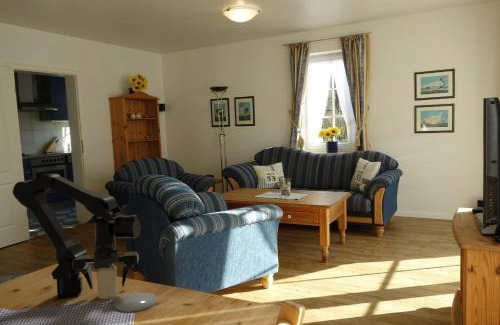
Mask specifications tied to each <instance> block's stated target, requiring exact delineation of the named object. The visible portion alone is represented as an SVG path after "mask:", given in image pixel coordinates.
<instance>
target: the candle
mask: <svg viewBox="0 0 500 325" xmlns="http://www.w3.org/2000/svg"><path fill="white" fill-rule="evenodd" d="M96 273H97V275H96V276H97V294H98V295H97V296H98V297H97V298H99V299H100V300H109V299H113V298H116V297H117V295H118V282H117V280H118V278H117V277H118V275H117V266H116V265H114V263H112V266H111V267H110V268H99V269H96Z"/></svg>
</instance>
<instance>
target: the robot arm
mask: <svg viewBox="0 0 500 325" xmlns="http://www.w3.org/2000/svg"><path fill="white" fill-rule="evenodd" d="M50 189H51V190H53V191H55V192H57V193H60V194H61V195H64V196H65V197H67V198H69V199H71V200H74V201H75V202H77V203H79V204H81V205H83V207H84V208H85V210H87V212H89V213H91V214H92V217H91V218H90V219H89V220H88V221H87V224H89V225H90V224H91V225H92V224H94V234H95V236H94V237H95V239H94V240H95V249H94V253H93V257H90V255H89V254H87V253H88V250H86V249H85V247H84V246H83V243H82V242H81V241H78V242H74V241H72V240H71V239H70V237H69V236H68V233H67V232H66V231H65V229H64V228H63V226H62V224H61V223H60V221H59V220H58V217H57V216H56V215H55V214H54V211H53V210H52V209H51V207H50V206H49V204H48V202H47V192H46V191H48V190H50ZM12 194H13V196H14V198H15V199H16V200H17V202H18V203H19V204H20V205H22V206H23V207H25V208H27V209H28V210H30V211H31V213H32V214H33V217H35V219H36V220H37V222H38V224H39V226H40V227H41V229H42V230H43V232H44V234H45V235H46V237H47V238H48V240H49V241H50V243H51V245H52V246H53V247H54V249H55V260H56V263H57V264H58V265H57V266H56V268H54V270H52V272H50V274H51V276H52V279H53V280H56V296H55V299H56V300H58V299H69V298H71V299H72V298H78V297H79V296H80V295H81V294H82V291H83V290H84V289H83V284H84V283H83V277H84V278H85V280H86V283H87V284H88V287H89V289H90V290H93V289H94V288H93V287H94V286H93V285H94V282H93V273H92V265H93V269H95V270H97V269H99V268H110V267H111V266H112V264H115V263H123V266H122V279H121V286H122V288H123V287H125V284H126V280H127V275H128V273H129V271H130V269H131V268H134V266H137V265H138V264H139V260H140V257H139V253H138V251H135V250H134V251H126V252H124V255H120V254H119V250H118V249H116V247H117V246H116V238H118V239H137V238H139V236H140V233H141V230H142V229H141V228H142V226H141V224H140V220H139V219H138V215H136V214H132V215H125V213H124V212H123V210H122V209H121V208H120V207H119V205H118V203H117V200H116V198H115V197H114V196H112V195H109V194H107V193H102V192H96V191H91V190H90V189H87V188H85V187H83V186H81V185H79V184H78V183H75V182H73V181H71V180H69V179H67V178H64V177H62V176H61V175H60V174H58V173H49V174H44V175H43V176H41V177H37V178H34V179H29V180H23V181H21V180H20V181H18V182H16V183H15V184H14V186H13V189H12ZM81 274H82V275H83V277H81Z"/></svg>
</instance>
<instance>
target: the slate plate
mask: <svg viewBox="0 0 500 325" xmlns="http://www.w3.org/2000/svg"><path fill="white" fill-rule="evenodd" d="M113 303H114V304H113V305H114V306H115V307H114V309H115V308H116V309H115V310H117V309H118V310H117V311H119V310H121V311H120V312H123V311H134V313H135V312H141V311H144V310H149V309H150V308H152V307H154V306H155V305H156V304H157V303H158V298H157V296H156V295H155V294H153V293H150V292H134V293H129V294H125V295H123V296H120V297H118V298H117V299H116V300H114V302H113Z"/></svg>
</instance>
